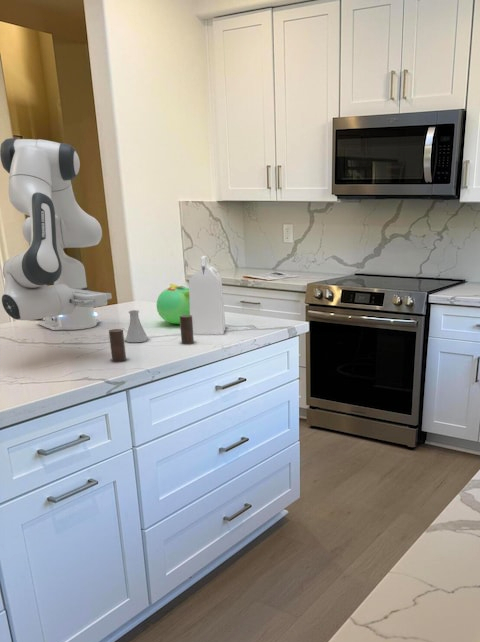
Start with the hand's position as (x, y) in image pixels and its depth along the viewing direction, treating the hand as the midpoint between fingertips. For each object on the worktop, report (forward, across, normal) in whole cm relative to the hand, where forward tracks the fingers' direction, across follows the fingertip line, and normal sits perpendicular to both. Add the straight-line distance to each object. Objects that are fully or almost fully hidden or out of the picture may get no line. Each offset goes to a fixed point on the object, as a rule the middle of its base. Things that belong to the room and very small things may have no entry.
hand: (100, 294), depth 190 cm
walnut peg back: (+20, -16, +17) cm, 31 cm away
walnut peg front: (-8, -16, +17) cm, 25 cm away
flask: (+12, 0, +17) cm, 21 cm away
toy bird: (+41, +9, +17) cm, 46 cm away
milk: (+38, -8, +17) cm, 43 cm away
